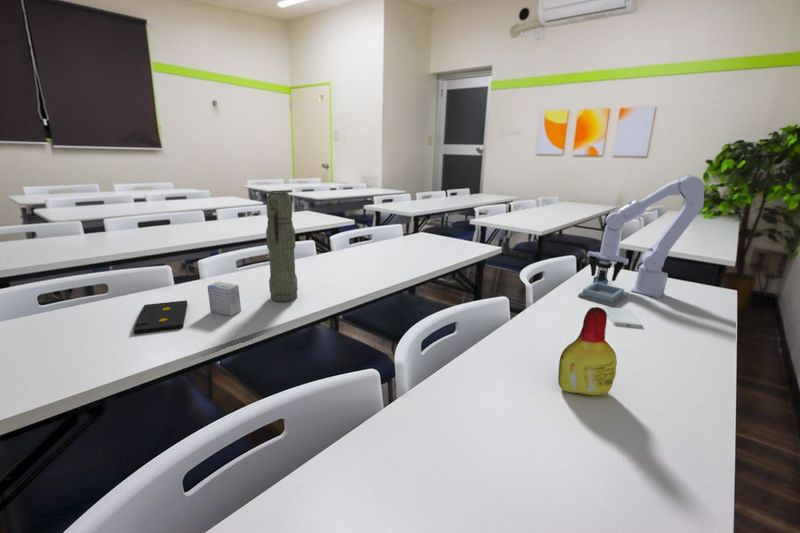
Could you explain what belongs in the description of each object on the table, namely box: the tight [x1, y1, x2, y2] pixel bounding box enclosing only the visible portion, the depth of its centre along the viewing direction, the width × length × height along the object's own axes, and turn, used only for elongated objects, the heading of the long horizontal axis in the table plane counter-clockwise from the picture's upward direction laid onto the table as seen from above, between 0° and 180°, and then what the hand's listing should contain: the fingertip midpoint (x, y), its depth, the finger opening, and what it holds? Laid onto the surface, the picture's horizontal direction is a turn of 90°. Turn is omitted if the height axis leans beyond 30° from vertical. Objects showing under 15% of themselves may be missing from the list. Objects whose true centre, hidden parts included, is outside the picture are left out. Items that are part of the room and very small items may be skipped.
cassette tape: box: [133, 300, 189, 336], centre depth 115 cm, size 18×12×2 cm, turn 23°
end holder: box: [577, 282, 628, 308], centre depth 144 cm, size 12×14×3 cm
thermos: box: [265, 190, 298, 303], centre depth 128 cm, size 9×12×35 cm
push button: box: [592, 259, 613, 286], centre depth 156 cm, size 7×5×10 cm
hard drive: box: [601, 306, 644, 329], centre depth 127 cm, size 2×8×12 cm
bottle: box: [557, 306, 618, 396], centre depth 86 cm, size 12×6×20 cm, turn 86°
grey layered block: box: [207, 281, 242, 317], centre depth 120 cm, size 8×4×9 cm, turn 71°
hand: (603, 277), depth 157 cm, fingers open, 7 cm apart
